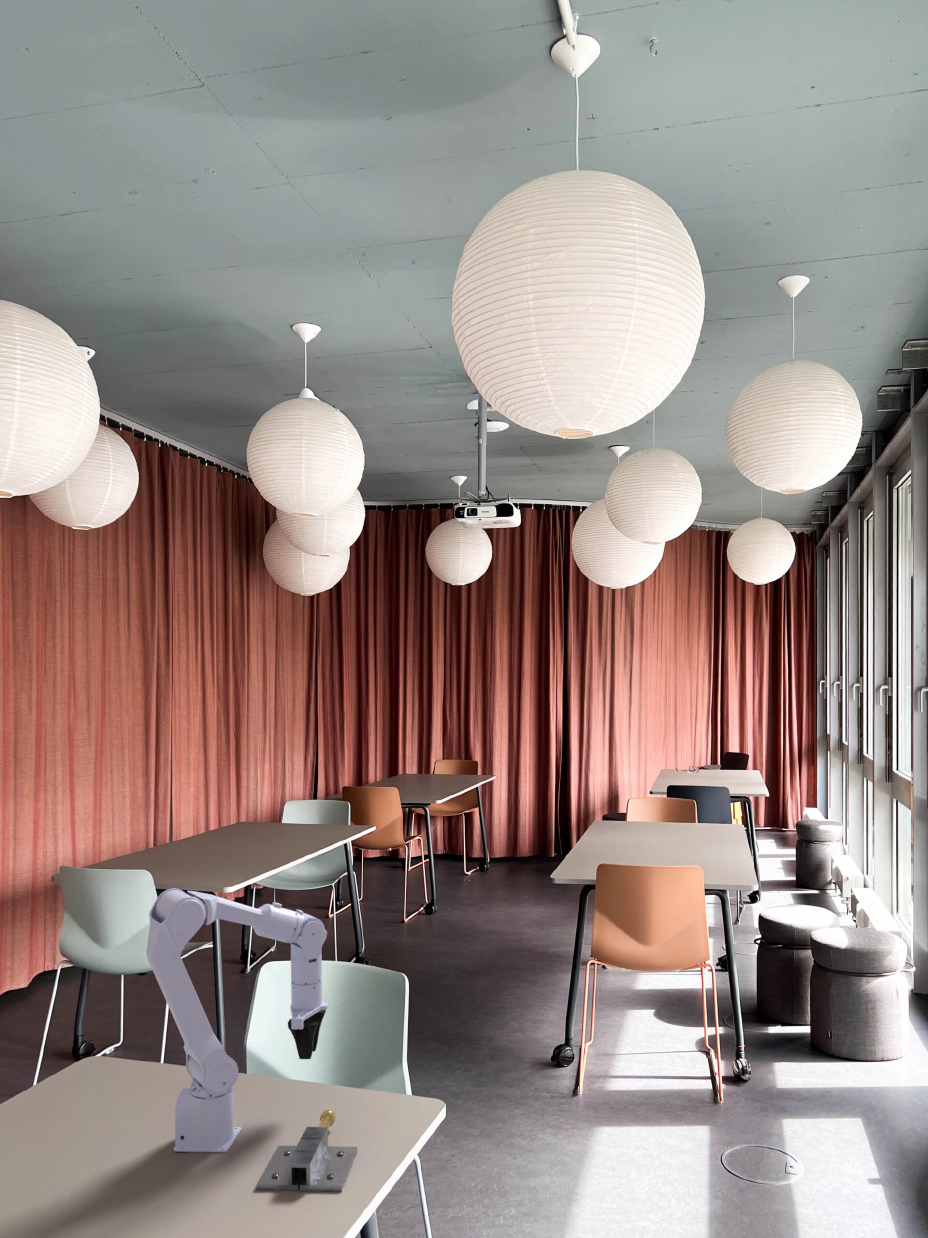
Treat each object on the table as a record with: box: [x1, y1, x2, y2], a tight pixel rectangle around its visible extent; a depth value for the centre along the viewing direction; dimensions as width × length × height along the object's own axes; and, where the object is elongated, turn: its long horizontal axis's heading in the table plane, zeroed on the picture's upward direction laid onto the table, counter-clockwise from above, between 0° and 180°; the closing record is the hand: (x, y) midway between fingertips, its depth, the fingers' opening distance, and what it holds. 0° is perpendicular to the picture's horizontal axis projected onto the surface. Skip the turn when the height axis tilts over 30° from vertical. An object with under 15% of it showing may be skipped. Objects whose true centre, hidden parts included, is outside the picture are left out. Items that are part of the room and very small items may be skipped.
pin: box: [317, 1109, 336, 1129], centre depth 157 cm, size 3×14×3 cm, turn 175°
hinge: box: [256, 1126, 358, 1192], centre depth 150 cm, size 14×12×4 cm
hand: (307, 1054), depth 172 cm, fingers open, 3 cm apart
